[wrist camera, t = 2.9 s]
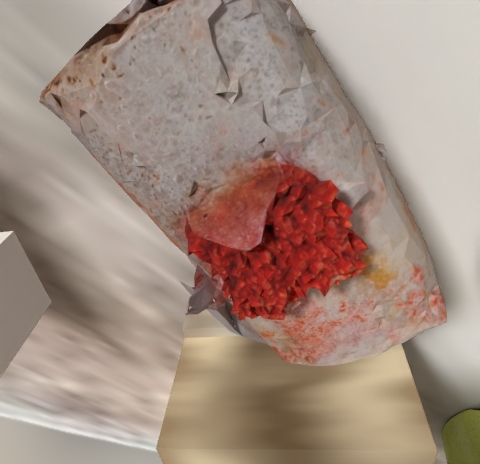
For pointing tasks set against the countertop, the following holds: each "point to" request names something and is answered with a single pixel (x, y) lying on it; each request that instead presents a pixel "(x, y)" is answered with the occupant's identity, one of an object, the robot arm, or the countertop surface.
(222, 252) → the food item
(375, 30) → the countertop surface
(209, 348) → the stand
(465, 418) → the plant pot
